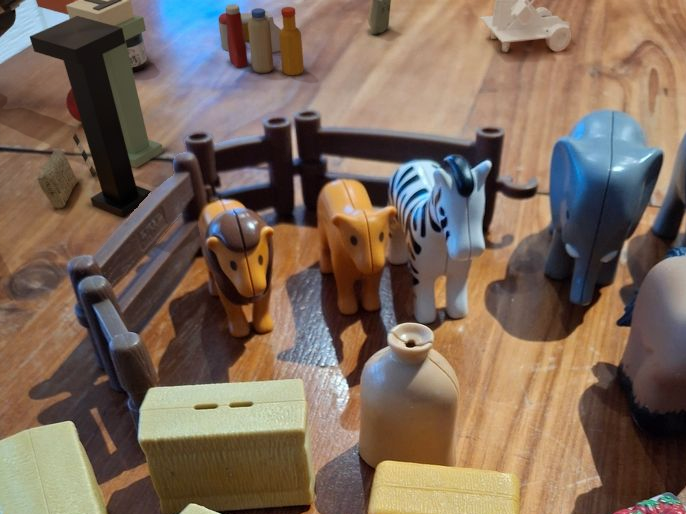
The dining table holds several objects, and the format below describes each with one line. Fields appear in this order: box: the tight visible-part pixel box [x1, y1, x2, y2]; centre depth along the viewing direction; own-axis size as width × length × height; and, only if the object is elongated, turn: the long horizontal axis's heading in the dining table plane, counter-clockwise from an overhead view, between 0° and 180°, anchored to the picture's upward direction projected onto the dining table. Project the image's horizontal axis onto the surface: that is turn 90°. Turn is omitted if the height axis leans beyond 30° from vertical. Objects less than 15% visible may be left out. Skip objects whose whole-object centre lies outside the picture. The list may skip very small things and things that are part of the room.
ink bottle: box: [126, 32, 149, 73], centre depth 152 cm, size 10×9×12 cm
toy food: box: [217, 3, 305, 77], centre depth 154 cm, size 27×13×12 cm, turn 26°
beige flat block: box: [35, 0, 135, 26], centre depth 115 cm, size 17×7×3 cm, turn 57°
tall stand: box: [29, 16, 152, 219], centre depth 111 cm, size 9×9×26 cm
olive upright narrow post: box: [367, 0, 392, 37], centre depth 164 cm, size 6×5×8 cm
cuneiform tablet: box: [37, 133, 96, 210], centre depth 121 cm, size 7×4×12 cm
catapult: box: [479, 0, 572, 53], centre depth 156 cm, size 18×14×16 cm
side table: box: [103, 14, 164, 169], centre depth 123 cm, size 9×9×22 cm
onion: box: [66, 88, 82, 123], centre depth 136 cm, size 6×6×8 cm
